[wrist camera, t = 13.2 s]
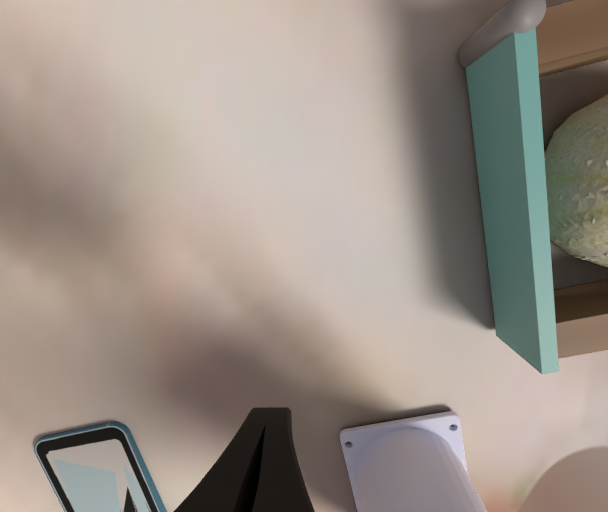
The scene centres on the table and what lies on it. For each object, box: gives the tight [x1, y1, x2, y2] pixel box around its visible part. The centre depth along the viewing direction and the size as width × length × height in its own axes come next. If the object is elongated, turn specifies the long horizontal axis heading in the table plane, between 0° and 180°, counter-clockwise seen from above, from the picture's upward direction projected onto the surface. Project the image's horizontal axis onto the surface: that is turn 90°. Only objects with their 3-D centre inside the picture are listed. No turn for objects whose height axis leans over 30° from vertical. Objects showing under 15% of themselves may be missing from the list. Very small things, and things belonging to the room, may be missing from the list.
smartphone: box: [34, 422, 167, 512], centre depth 24 cm, size 7×1×15 cm
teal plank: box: [458, 0, 559, 374], centre depth 15 cm, size 17×1×4 cm, turn 14°
